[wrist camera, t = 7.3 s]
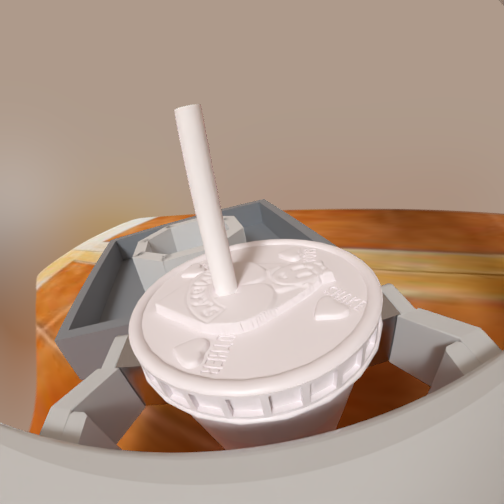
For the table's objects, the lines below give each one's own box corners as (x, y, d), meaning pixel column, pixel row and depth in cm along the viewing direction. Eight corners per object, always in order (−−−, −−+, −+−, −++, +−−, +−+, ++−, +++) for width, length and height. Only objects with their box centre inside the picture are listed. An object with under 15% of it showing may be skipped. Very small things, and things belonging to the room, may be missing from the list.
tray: (268, 225, 40) (262, 190, 38) (354, 305, 20) (354, 243, 18) (120, 266, 36) (108, 232, 34) (81, 379, 17) (46, 327, 15)
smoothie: (213, 417, 13) (115, 141, 8) (326, 390, 14) (308, 103, 8) (226, 520, 7) (-26, 158, 2) (370, 483, 8) (459, 71, 2)
